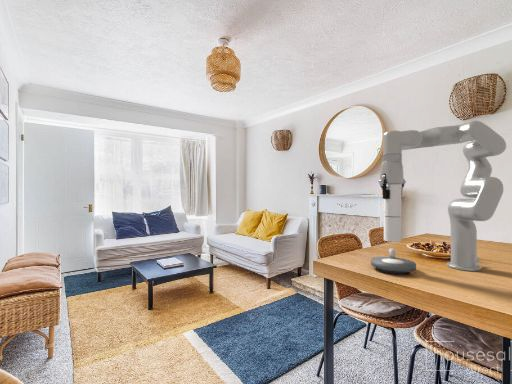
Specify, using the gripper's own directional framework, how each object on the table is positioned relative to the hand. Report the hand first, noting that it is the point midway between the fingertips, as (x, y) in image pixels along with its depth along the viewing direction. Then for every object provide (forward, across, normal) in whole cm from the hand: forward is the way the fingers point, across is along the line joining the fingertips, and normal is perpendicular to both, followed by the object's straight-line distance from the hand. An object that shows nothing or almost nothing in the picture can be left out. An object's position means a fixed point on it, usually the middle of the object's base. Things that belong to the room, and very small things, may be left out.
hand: (392, 198), depth 121 cm
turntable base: (+32, 0, 0) cm, 32 cm away
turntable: (+30, 0, 0) cm, 30 cm away
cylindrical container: (+19, 0, 0) cm, 19 cm away
